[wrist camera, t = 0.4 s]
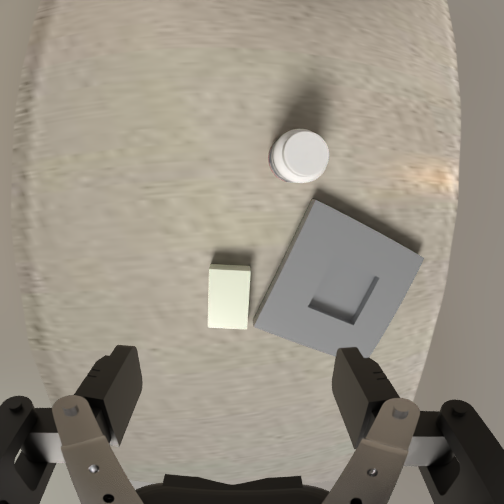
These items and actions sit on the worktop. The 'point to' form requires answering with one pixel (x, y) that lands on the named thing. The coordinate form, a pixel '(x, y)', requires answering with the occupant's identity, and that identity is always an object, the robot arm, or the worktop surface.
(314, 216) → the grey square slab
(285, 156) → the pill bottle
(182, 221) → the worktop surface
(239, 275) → the soap bar
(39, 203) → the worktop surface
